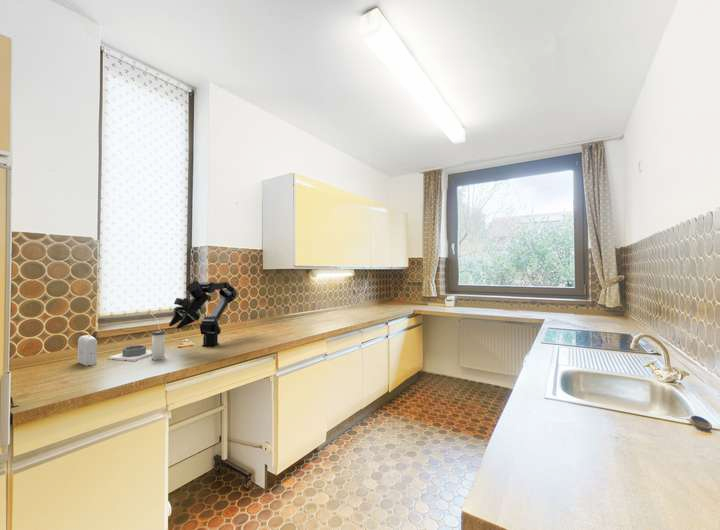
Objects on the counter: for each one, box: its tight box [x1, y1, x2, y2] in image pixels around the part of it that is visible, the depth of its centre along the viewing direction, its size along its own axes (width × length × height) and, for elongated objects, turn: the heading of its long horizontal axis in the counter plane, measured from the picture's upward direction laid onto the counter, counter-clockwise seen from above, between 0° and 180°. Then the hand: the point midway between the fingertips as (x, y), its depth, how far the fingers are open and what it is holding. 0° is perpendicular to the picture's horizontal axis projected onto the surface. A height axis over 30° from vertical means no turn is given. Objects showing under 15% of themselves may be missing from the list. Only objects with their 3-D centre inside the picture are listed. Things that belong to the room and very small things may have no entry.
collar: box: [107, 344, 152, 362], centre depth 152 cm, size 14×14×4 cm
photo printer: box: [77, 334, 98, 367], centre depth 140 cm, size 10×4×12 cm, turn 60°
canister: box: [151, 330, 166, 361], centre depth 148 cm, size 5×5×12 cm
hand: (173, 327), depth 154 cm, fingers open, 9 cm apart
